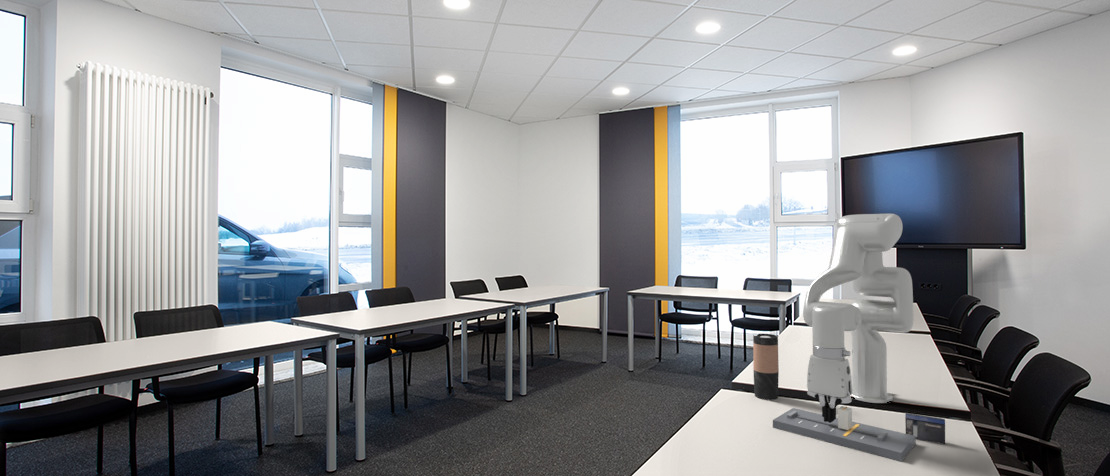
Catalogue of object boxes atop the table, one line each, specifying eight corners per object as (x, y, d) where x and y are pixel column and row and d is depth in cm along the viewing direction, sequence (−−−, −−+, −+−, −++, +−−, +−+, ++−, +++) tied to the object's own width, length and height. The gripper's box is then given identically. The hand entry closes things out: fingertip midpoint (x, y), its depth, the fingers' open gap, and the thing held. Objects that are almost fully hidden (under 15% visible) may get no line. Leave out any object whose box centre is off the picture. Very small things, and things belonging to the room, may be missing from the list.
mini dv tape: (905, 437, 132) (905, 414, 132) (905, 435, 133) (905, 412, 133) (945, 444, 128) (945, 420, 128) (944, 442, 129) (944, 418, 129)
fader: (841, 424, 135) (841, 405, 135) (852, 427, 133) (851, 407, 133) (838, 427, 133) (837, 408, 133) (848, 430, 131) (848, 410, 131)
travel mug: (781, 400, 162) (780, 338, 162) (756, 399, 164) (755, 337, 164) (775, 393, 170) (775, 333, 170) (751, 392, 171) (751, 333, 171)
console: (793, 414, 150) (793, 405, 150) (915, 444, 128) (915, 432, 128) (772, 427, 140) (772, 417, 140) (901, 461, 118) (901, 449, 118)
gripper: (864, 354, 133) (865, 424, 133) (804, 346, 144) (805, 410, 144) (854, 359, 128) (855, 432, 128) (794, 350, 139) (794, 417, 139)
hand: (829, 420), depth 136 cm, fingers closed
